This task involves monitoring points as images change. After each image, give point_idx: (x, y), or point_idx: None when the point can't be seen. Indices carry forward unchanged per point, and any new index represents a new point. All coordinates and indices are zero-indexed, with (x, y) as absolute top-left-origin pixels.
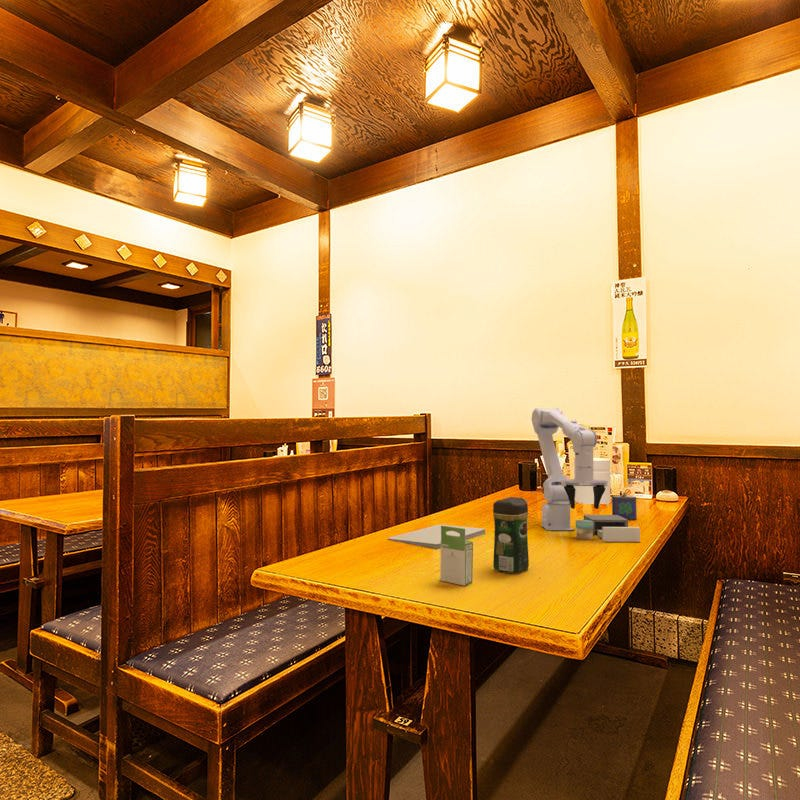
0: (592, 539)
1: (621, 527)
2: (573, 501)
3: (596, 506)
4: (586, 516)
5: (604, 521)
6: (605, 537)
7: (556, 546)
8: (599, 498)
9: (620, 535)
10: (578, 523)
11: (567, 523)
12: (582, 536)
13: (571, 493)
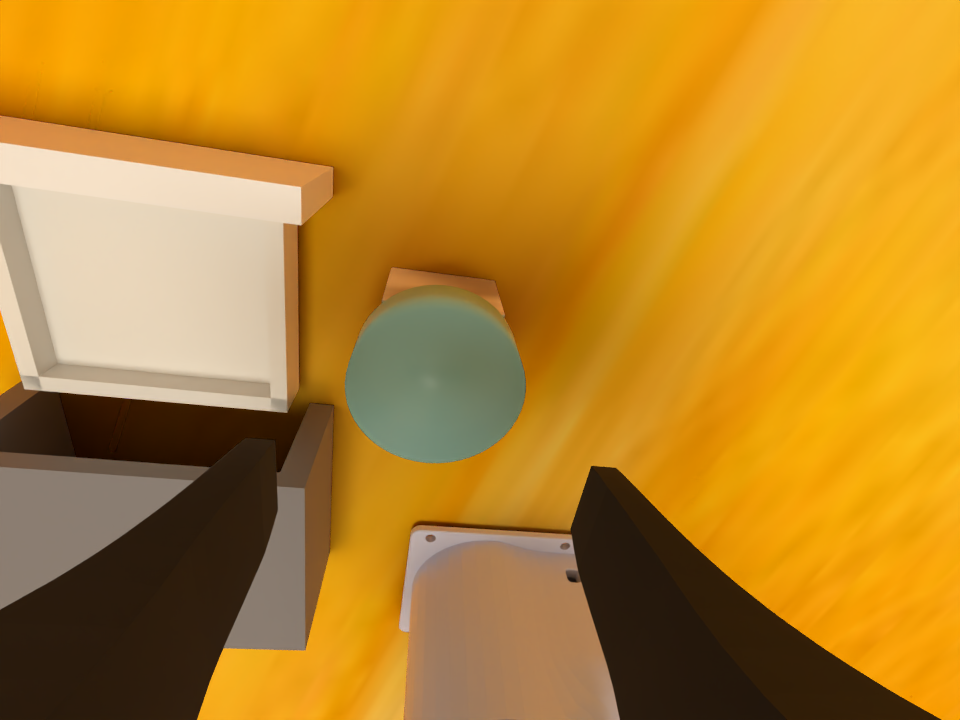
0: (394, 268)
1: (57, 160)
2: (662, 532)
3: (262, 455)
4: (305, 600)
5: (184, 467)
6: (302, 168)
7: (844, 49)
8: (138, 549)
9: (129, 144)
10: (518, 355)
11: (451, 576)
12: (478, 287)
13: (807, 662)
